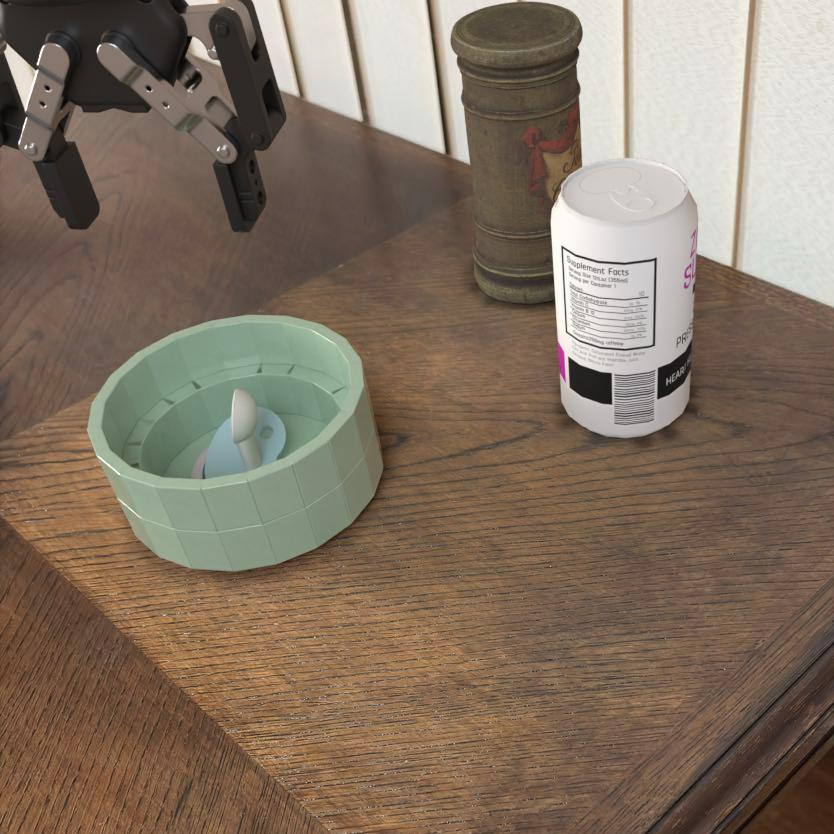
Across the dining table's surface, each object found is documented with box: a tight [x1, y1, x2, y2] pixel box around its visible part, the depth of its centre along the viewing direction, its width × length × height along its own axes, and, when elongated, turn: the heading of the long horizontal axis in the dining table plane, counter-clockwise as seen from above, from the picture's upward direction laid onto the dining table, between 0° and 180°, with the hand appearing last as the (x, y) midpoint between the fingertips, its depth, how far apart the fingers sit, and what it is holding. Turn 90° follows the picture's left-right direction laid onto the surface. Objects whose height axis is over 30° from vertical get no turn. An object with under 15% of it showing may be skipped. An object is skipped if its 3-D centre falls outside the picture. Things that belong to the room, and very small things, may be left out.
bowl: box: [86, 314, 384, 573], centre depth 63 cm, size 16×16×7 cm
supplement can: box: [551, 157, 699, 439], centre depth 64 cm, size 8×8×15 cm
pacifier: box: [191, 389, 286, 479], centre depth 64 cm, size 7×6×6 cm
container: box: [450, 1, 584, 305], centre depth 74 cm, size 9×9×18 cm
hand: (165, 223), depth 53 cm, fingers open, 8 cm apart
